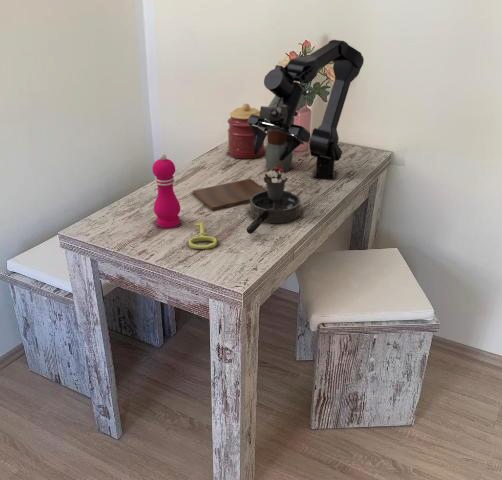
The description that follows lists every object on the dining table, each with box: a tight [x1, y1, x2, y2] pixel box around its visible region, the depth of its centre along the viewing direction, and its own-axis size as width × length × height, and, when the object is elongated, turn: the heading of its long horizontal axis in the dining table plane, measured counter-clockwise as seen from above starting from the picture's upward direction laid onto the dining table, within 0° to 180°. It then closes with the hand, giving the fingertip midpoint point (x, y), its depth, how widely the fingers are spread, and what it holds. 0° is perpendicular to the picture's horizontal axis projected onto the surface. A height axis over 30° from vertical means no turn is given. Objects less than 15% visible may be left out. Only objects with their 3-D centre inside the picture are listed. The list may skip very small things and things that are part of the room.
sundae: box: [263, 161, 289, 210], centre depth 161 cm, size 7×7×15 cm
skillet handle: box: [246, 211, 268, 235], centre depth 154 cm, size 12×2×2 cm, turn 156°
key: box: [188, 220, 218, 250], centre depth 152 cm, size 7×12×2 cm, turn 23°
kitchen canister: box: [227, 103, 265, 160], centre depth 203 cm, size 13×13×18 cm
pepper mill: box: [151, 153, 181, 229], centre depth 155 cm, size 7×7×20 cm
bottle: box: [265, 94, 295, 172], centre depth 188 cm, size 9×9×30 cm
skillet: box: [249, 190, 302, 224], centre depth 164 cm, size 14×14×4 cm
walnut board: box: [192, 178, 267, 211], centre depth 176 cm, size 20×14×1 cm
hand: (267, 157), depth 163 cm, fingers open, 9 cm apart
